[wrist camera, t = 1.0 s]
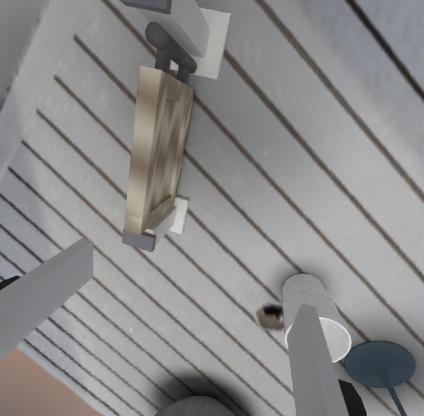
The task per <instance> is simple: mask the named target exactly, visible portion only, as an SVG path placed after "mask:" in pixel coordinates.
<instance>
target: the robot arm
mask: <svg viewBox="0 0 424 416" xmlns="http://www.w3.org/2000/svg"><path fill="white" fill-rule="evenodd" d="M92 277H93V242H92V241H89V240H85V239H81V240H79V241H77V242H76V243H74V244H73V245H71V246H70V247H68V248H66V249H65V250H63V251H62V252H60V253H58V254H57V255H55V256H54V257H52V258H51V259H49V260H47V261H46V262H44V263H43V264H41V265H40V266H38V267H36V268H35V269H33V270H32V271H30V272H28V273H27V274H25V275H24V276H22V277H19V276H15V277H12V278H9V279H7V280H4V281H2V282H0V360H1V359H2V358H3V357H4V356H6V355H7V354H8V353H9V352H10V351H11V350H12V349H13V348H14V347H16V346H17V345H18V344H19V343H20V342H21V341H22V340H23V339H24V338H26V337H27V336H28V335H29V334H30V333H31V332H32V331H33V330H34V329H35V328H37V327H38V326H39V325H40V324H41V323H42V322H43V321H44V320H45V319H47V318H48V317H49V316H50V315H51V314H52V313H53V312H54V311H55V310H57V309H58V308H59V307H60V306H61V305H62V304H63V303H64V302H65V301H67V300H68V299H69V298H70V297H71V296H72V295H73V294H74V293H75V292H76V291H78V290H79V289H80V288H81V287H82V286H83V285H84V284H85V283H86V282H88V281H89V280H90V279H91V278H92ZM287 342H288V350H289V358H290V366H291V374H292V382H293V390H294V398H295V406H296V414H297V416H367V413H366V410H365V408H364V405H363V402H362V399H361V397H360V396H359V394H358V393H357V391H356V390H355V388H354V387H353V385H352V384H351V383H348V382H345V381H342V380H339V379H338V378H337V375H336V372H335V369H334V365H333V362H332V359H331V355H330V352H329V349H328V346H327V342H326V339H325V336H324V333H323V329H322V326H321V323H320V320H319V316H318V313H317V310H316V307H314V306H311V305H308V304H304V303H302V304H301V306H300V308H299V311H298V313H297V315H296V317H295V320H294V322H293V324H292V326H291V329H290V331H289V333H288V335H287Z"/></svg>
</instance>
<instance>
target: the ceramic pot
mask: <svg viewBox="0 0 424 416" xmlns="http://www.w3.org/2000/svg"><path fill="white" fill-rule="evenodd" d="M155 416H235V415H234V414H233V413H232V412H231V411H230V410H229V409H228V408H227V407H226V406H224V405H223V404H222V403H220V402H219V401H217V400H215V399H213V398H210V397H206V396H188V397H184V398H182V399H180V400H178V401H176V402H174V403H173V404H171V405H169V406H166V407H165V408H163V409H161V410H160V411H159V412H158V413H157V414H156V415H155Z"/></svg>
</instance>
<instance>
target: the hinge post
mask: <svg viewBox="0 0 424 416" xmlns="http://www.w3.org/2000/svg"><path fill="white" fill-rule="evenodd" d="M120 1H121V2H122V3H123V4H124V5H126V6H130V7H135V8H137V9H138V10H139V11H140V12H141V13H142V14H143V15H144V16H145V17H146V18H147V19H148V20H149V21H150V22H157V23H159V24H160V25H161V26H162V27H163V28H164V29H165V30H166V31H167V32H168V33H169V34H170V35H171V36H172V37H173V38H174V40H175V41H176V42H177V43H178V44H179V45H180V46H181V47H182V48H183V49H184V50H185V51H186V52H187V53H188V54H189V55H190V56H191V57H192V58H193V59H194V60H195V62H196V63H197V70H196V71H195V72H194V73H192V74H190V73H189V74H190V75H194V76H199V77H203V78H207V79H212V80H216V81H218V79H219V74H220V69H221V65H222V60H223V55H224V50H225V46H226V41H227V36H228V32H229V27H230V22H231V14H230V13H225V12H220V11H215V10H210V9H205V8H200V7H199V6H198V4H197V2H196V0H120ZM178 67H179V65H177V64H176V63H175V62H173V61H172V60H171V65H170V70H173V71H177V72H178Z"/></svg>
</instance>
